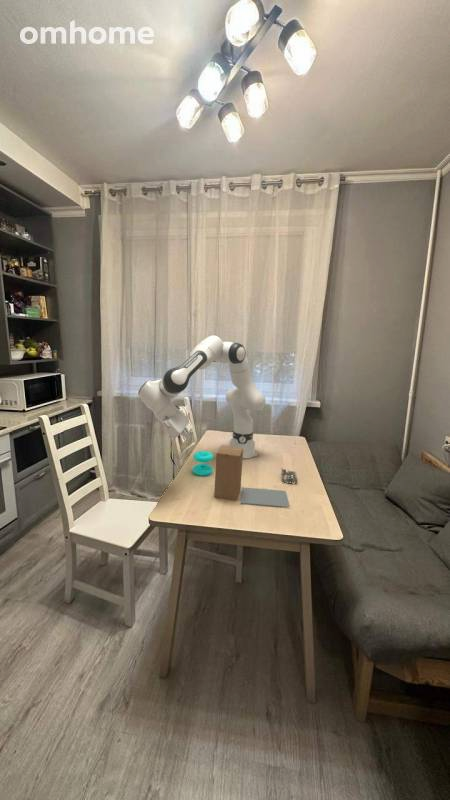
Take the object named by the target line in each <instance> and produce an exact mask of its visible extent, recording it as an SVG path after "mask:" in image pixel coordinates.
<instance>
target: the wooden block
mask: <svg viewBox="0 0 450 800" xmlns="http://www.w3.org/2000/svg"><path fill="white" fill-rule="evenodd" d="M215 455H216V456H215V475H214V491H213V494H214V495H213V496H214V497H215V498H219V499H225V500H233V501H237V500H238V498H239V495H240V493H241V490H242V475H243V474H242V473H243V472H242V471H243V460H244V458H243V448H237V447H229V445H227V446H226V445H221V446H220V447H219V449H218V450H217V451H216V453H215Z"/></svg>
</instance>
